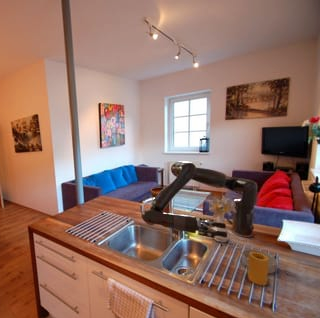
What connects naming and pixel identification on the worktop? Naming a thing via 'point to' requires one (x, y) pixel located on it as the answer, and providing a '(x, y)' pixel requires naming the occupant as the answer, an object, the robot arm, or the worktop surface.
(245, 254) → the bowl
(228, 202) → the flower vase
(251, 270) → the yellow hollow cylinder
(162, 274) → the worktop surface
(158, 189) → the vessel
